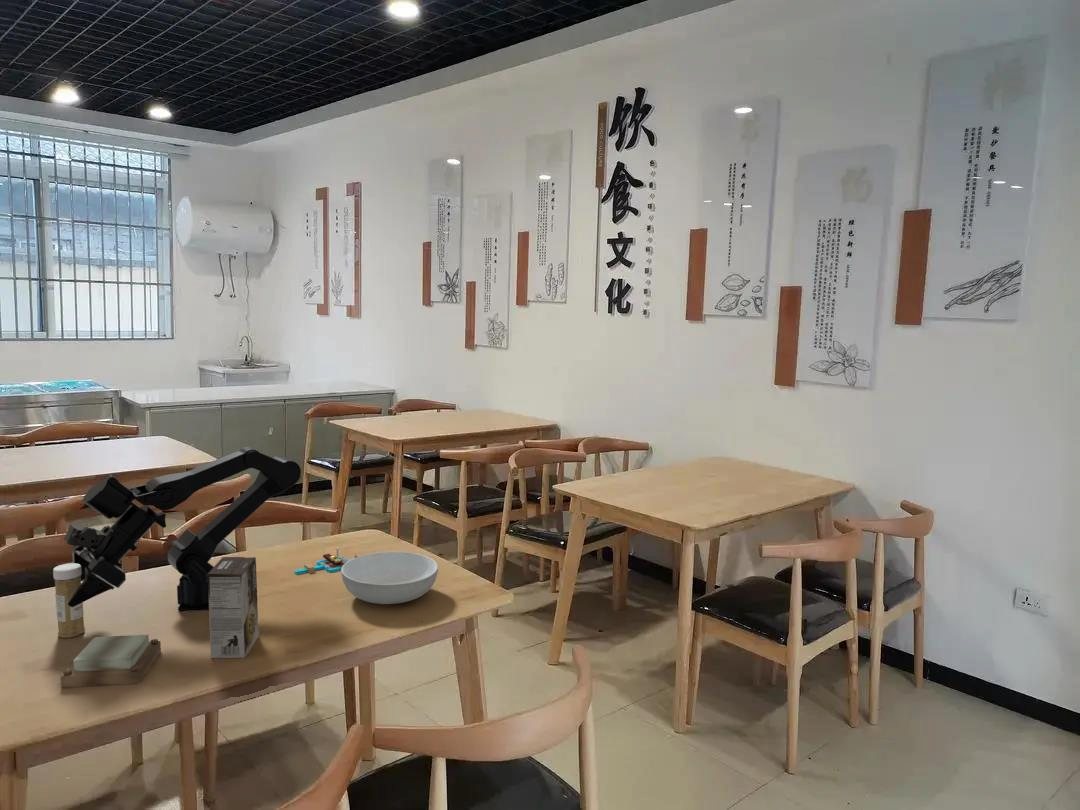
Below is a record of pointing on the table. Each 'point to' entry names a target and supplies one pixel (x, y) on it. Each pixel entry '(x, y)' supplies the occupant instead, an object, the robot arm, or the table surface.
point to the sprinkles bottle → (65, 588)
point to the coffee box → (233, 607)
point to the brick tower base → (113, 674)
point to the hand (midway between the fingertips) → (64, 598)
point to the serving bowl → (389, 576)
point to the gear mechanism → (326, 564)
